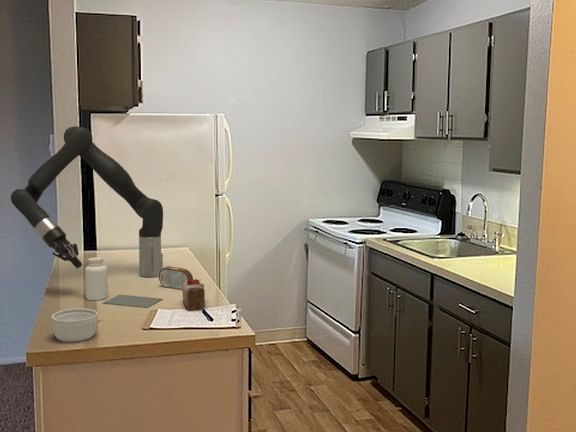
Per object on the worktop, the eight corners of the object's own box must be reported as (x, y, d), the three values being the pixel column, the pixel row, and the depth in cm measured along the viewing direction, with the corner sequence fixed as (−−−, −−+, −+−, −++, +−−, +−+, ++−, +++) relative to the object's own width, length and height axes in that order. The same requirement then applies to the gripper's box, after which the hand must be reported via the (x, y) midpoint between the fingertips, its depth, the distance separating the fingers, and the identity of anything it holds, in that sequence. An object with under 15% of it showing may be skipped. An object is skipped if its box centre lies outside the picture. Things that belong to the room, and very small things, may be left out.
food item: (180, 301, 233) (180, 275, 232) (202, 300, 236) (202, 274, 234) (185, 311, 220) (185, 284, 219) (208, 310, 223) (208, 283, 221)
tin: (193, 289, 250) (193, 269, 249) (189, 291, 247) (189, 270, 246) (162, 285, 256) (162, 265, 255) (157, 287, 254) (157, 266, 252)
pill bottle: (88, 295, 239) (87, 256, 237) (109, 295, 240) (109, 256, 238) (83, 300, 231) (82, 260, 229) (105, 300, 232) (104, 260, 230)
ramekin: (71, 346, 184) (71, 323, 183) (42, 338, 190) (41, 315, 190) (107, 334, 195) (106, 312, 194) (78, 327, 202) (77, 305, 201)
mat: (102, 303, 228) (102, 302, 228) (119, 295, 240) (119, 294, 240) (147, 308, 224) (147, 307, 224) (162, 299, 235) (162, 298, 235)
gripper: (45, 228, 230) (75, 263, 229) (66, 223, 243) (95, 256, 241) (33, 241, 232) (63, 276, 231) (55, 236, 245) (84, 269, 243)
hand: (79, 266), depth 236 cm, fingers closed
